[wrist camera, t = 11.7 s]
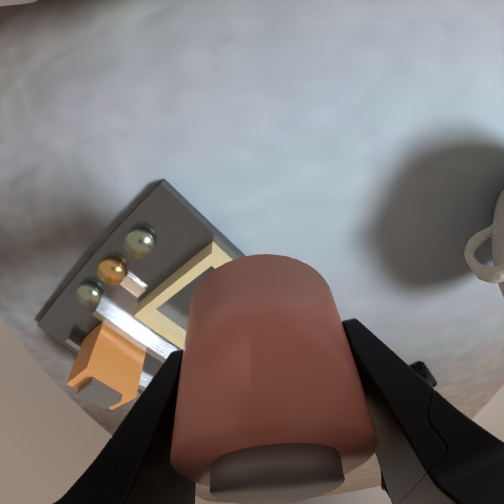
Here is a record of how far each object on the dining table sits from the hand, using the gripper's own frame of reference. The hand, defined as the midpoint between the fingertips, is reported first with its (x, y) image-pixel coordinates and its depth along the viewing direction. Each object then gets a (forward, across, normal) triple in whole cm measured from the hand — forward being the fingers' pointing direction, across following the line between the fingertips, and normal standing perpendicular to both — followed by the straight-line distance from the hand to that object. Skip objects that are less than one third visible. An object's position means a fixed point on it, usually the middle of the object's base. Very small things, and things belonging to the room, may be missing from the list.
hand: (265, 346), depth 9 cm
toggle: (+10, +13, +8) cm, 18 cm away
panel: (+11, +8, +10) cm, 16 cm away
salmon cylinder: (+1, 0, 0) cm, 1 cm away
